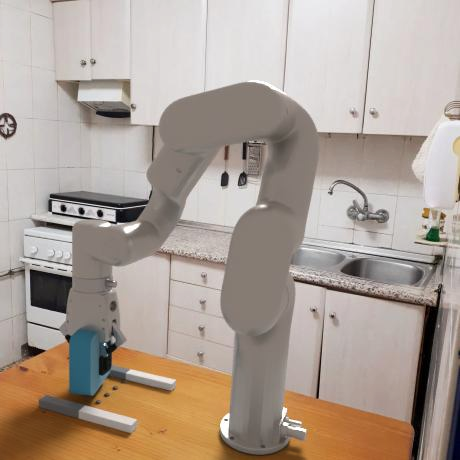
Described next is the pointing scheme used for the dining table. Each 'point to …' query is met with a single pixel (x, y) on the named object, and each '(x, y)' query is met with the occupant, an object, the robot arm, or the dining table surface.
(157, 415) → the dining table surface
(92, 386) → the blue rounded box
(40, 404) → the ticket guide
